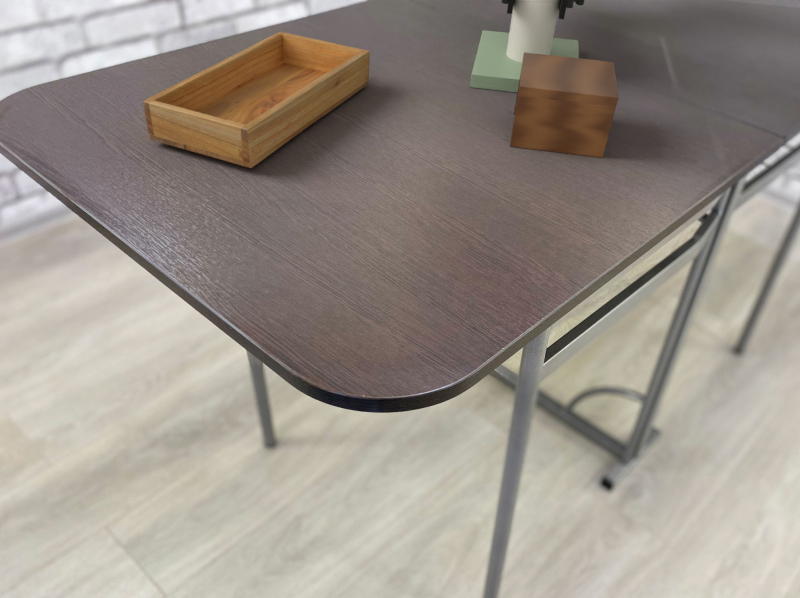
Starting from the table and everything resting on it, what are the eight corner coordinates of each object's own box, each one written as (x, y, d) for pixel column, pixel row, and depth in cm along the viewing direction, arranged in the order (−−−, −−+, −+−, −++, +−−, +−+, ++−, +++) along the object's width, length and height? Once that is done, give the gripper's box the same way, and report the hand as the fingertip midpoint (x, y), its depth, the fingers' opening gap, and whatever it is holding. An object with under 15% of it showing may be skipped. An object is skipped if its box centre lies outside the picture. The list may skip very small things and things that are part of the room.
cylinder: (549, 50, 115) (570, -62, 104) (549, 66, 110) (571, -50, 99) (507, 46, 116) (524, -66, 105) (504, 61, 111) (522, -55, 100)
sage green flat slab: (575, 52, 121) (578, 40, 119) (577, 99, 106) (580, 86, 105) (481, 42, 122) (482, 30, 121) (469, 87, 108) (471, 74, 106)
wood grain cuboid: (599, 119, 101) (613, 61, 96) (602, 157, 92) (618, 97, 87) (514, 109, 103) (523, 52, 97) (509, 146, 94) (519, 86, 88)
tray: (281, 66, 110) (279, 27, 107) (369, 87, 106) (370, 47, 102) (149, 145, 90) (141, 100, 86) (251, 175, 85) (247, 129, 81)
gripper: (595, -5, 122) (600, 40, 105) (479, -17, 124) (465, 26, 107) (606, -55, 117) (612, -15, 100) (485, -66, 119) (471, -29, 102)
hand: (536, 6), depth 103 cm, fingers closed on cylinder, 7 cm apart
